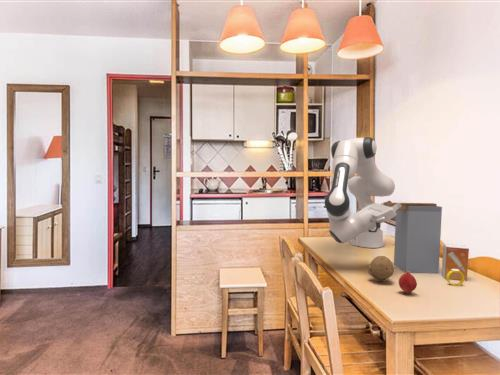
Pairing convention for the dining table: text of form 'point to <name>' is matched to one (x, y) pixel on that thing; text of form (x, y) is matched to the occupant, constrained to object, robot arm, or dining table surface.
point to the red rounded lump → (407, 282)
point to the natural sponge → (381, 268)
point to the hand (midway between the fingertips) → (395, 203)
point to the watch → (457, 272)
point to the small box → (455, 261)
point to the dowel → (405, 205)
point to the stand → (418, 239)
